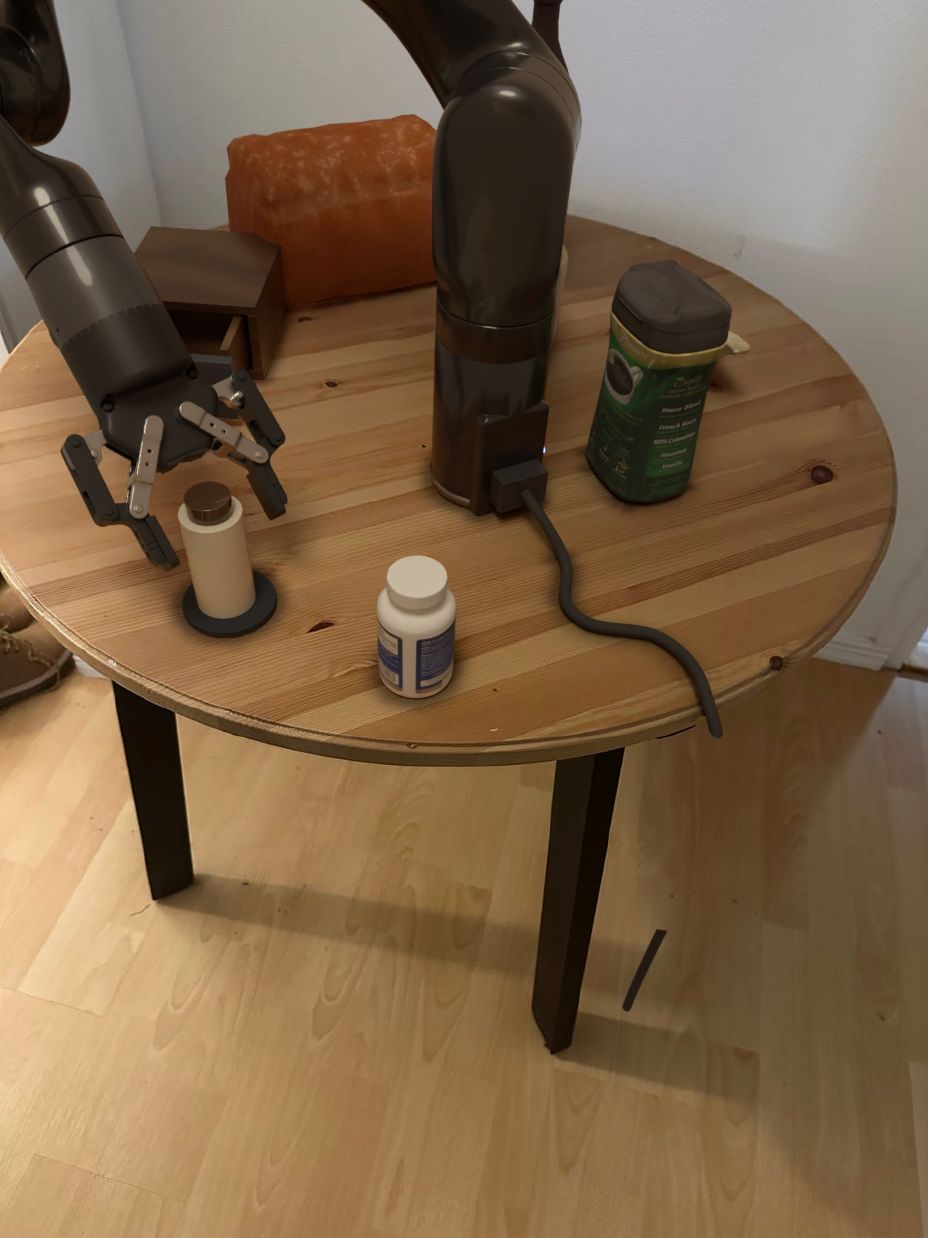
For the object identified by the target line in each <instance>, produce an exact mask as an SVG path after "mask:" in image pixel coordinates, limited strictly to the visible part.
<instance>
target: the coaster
mask: <svg viewBox="0 0 928 1238" xmlns="http://www.w3.org/2000/svg"><path fill="white" fill-rule="evenodd" d="M252 572H253V578H254V584H255V591H256V599H255V602H254V604H253V606H252V607H251V608H250V609H249V610H248V611H247V612H245V613H243V614H242V615H239V616H237V617H233V618H228V619H218V618H213V617H210V616H208V615H206V614H204V613H203V612H202V611H201V610H200V609H199V607H198V605H197V601H196V596H195V592H194V587H193V583H190V584H189V586H188V587H187V588H186V590H185V592H184V593H183V596H182V601H181V606H182V607H181V608H182V609H181V610H182V613H183V617H184V618H185V620H186V622H187V624H188V625H189V626H190V627H191V628H193V629H194V630H195V631H197V632H198V633H200V634H202V635H205V636H208V637H212V638H219V639H229V638H236V637H237V638H238V637H241V636H245V635H248V634H250V633H252V632H255V631H257V630H259V629H260V628H261V627H263V626H264V625H266V623H267V622H268V621H269V620H270V619H271V618H272V616H273V614H274V613H275V610H276V608H277V603H278V602H277V601H278V600H277V599H278V598H277V592H276V589H275V586H274V584H273V582H272V581H271V580H270V579H269V578H268V577H267V576H265V575H264V574H263V573H261V572H260V571H257V570H254V569H252Z"/></svg>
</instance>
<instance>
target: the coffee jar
mask: <svg viewBox="0 0 928 1238" xmlns="http://www.w3.org/2000/svg"><path fill="white" fill-rule="evenodd" d="M732 312H733V307H732V305H731V303H730V302H729V301H728V300H727V299H726V297H723V295H721V294H720V293H719V292H718V291H717V290H716V289H715V288H714V287H712V286H711V285H710V284H709V283H707V282H706V281H705V280H704V279H703V278H702V277H700V276H699V275H698V274H696V273H694V272H693V271H691V270H689V269H688V268H686V267H684V266H682V265H680V264H678V262H677V260H674V259H668V260H666V259H665V260H655V261H649V262H643V263H637V264H632V265H631V266H630V267H629V268H628V269H627V270H626V271H625V272H623V274H622V275H621V276H620V279H619V280H618V283H617V286H616V289H615V293H614V296H613V300H612V303H611V308H610V315H609V341H608V350H607V356H606V360H605V361H606V362H605V366H604V371H603V376H602V381H601V385H600V390H599V393H598V398H597V403H596V406H595V411H594V414H593V419H592V422H591V428H590V431H589V436H588V441H587V446H586V457H587V460H588V462H589V464H590V466H591V467H592V469H593V471H594V472H595V474H596V475H597V476H598V477H599V479H600V481H602V483H603V484H604V485H605V486H606V487H607V488H608V489H609V490H610V491H611V492H612V494H614V495H615V496H616V497H618V498H620V499H621V500H624V501H628V502H635V503H656V502H661V501H664V500H668V499H670V498H673V497H675V496H677V495H679V494H681V493H682V492H683V491H684V490H685V489H686V488H687V486H688V484H689V481H690V476H691V472H692V468H693V464H694V459H695V455H696V448H697V444H698V440H699V439H698V438H699V433H700V427H701V423H702V418H703V415H704V414H703V413H704V409H705V405H706V400H707V395H708V392H709V387H710V383H711V379H712V377H713V373H714V369H715V367H716V364H717V362H718V361H719V360H718V358H719V357H720V355H721V354H722V352H723V350H724V348H725V346H726V343H727V338H728V333H729V331H730V326H731V318H732V314H733V313H732Z"/></svg>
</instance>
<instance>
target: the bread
mask: <svg viewBox="0 0 928 1238" xmlns="http://www.w3.org/2000/svg"><path fill="white" fill-rule="evenodd" d="M436 131H437V129H436V128H434V127H433V126H432V124H430V123H429V122H428V121H426V120H425V119H423V118H421V117H420V116H419V115H417V114H414V113H411V114H401V115H397V116H394V117H390V118H379V119H369V120H368V119H367V120H362V121H352V122H337V123H336V122H335V123H327V124H323V125H319V126H315V127H304V128H295V129H287V130H282V131H275V132H273V133H269V134H267V135H266V134H265V135H264V134H260V133H259V134H258V133H250V134H247V135H242V136H237V137H234V138H233V139H232V140H231V141H230V142H229V144H228V145H227V146H226V153H227V159H228V166H229V169H228V171H227V172H226V175H225V177H224V181H225V182H224V183H225V195H226V206H227V207H226V208H227V217H228V228H229V232H241V233H255V234H258V235H259V236H260V237H261V238H263V239H264V240H266V241H269V242H272V243H276V244H281V257H282V269H283V282H284V294H285V301H286V305H287V308H289V309H290V308H295V307H303V306H309V305H316V304H322V303H323V304H324V303H327V302H332V301H338V300H343V299H346V298H352V297H357V296H363V295H369V294H372V293H373V294H374V293H379V292H384V291H390V290H397V289H401V288H406V287H411V286H412V287H413V286H417V285H423V284H429V283H433V282H437V276H436V272H435V270H434V266H433V260H432V165H433V150H434V142H435V135H436Z"/></svg>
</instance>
